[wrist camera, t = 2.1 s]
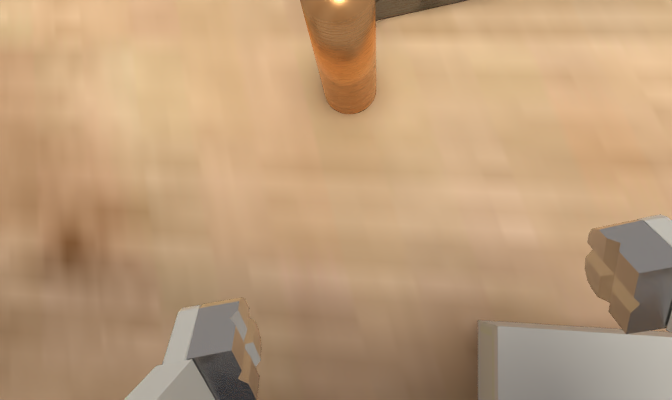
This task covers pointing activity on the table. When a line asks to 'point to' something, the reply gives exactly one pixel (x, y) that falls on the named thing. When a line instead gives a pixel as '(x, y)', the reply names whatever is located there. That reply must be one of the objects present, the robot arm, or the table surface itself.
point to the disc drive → (572, 363)
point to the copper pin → (344, 50)
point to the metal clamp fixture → (405, 6)
